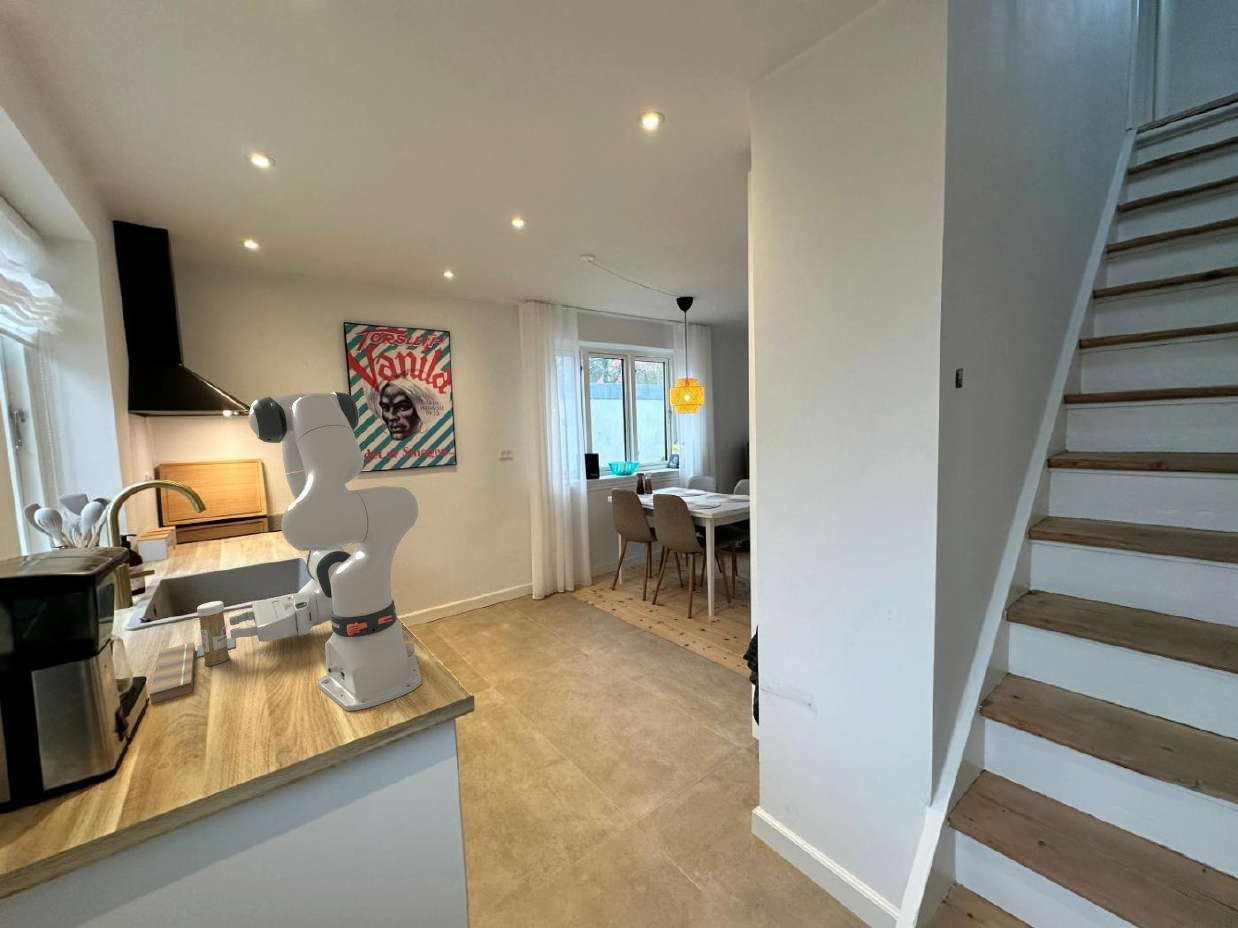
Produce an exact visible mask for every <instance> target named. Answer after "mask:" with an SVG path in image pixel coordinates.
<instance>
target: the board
mask: <svg viewBox="0 0 1238 928" xmlns="http://www.w3.org/2000/svg"><path fill="white" fill-rule="evenodd" d="M195 656H196V647H195V642H194V641H192V642H189V643H183V644H181V645H177V646H173V647H172V646H171V647H168V648H165V649H160V650H159V652H158V657H157V660H156V664H155V665H156V666H155V670H154V676H153V678H152V679H153V680H152V682H151V688H150V692H149V698H150V704H152V705H153V704H155V703H159V702H162V701H165V700H170V699H172V698H176V697H179V696H182V695H187V694H190V693H193V688H194V687H193V685H194V671H195V670H194V668H195Z"/></svg>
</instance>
